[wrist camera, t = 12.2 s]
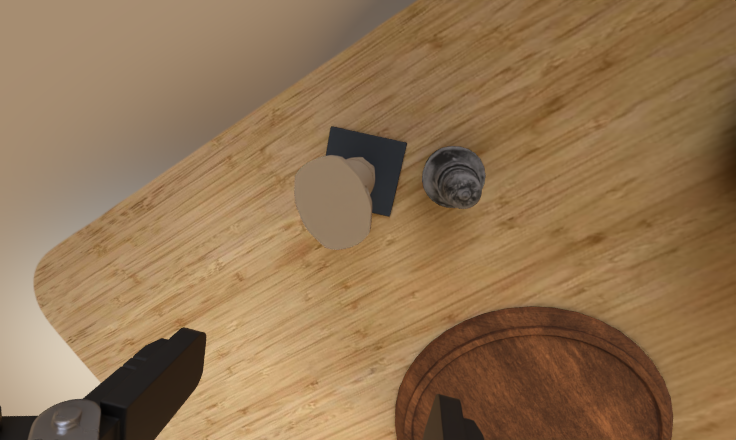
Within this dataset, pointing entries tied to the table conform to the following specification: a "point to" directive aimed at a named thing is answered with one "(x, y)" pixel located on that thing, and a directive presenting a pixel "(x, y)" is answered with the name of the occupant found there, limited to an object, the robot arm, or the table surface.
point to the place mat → (372, 162)
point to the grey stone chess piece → (454, 177)
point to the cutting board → (538, 380)
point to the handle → (335, 199)
